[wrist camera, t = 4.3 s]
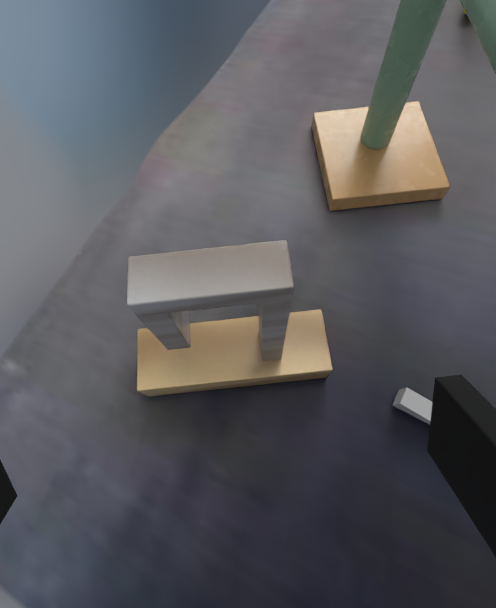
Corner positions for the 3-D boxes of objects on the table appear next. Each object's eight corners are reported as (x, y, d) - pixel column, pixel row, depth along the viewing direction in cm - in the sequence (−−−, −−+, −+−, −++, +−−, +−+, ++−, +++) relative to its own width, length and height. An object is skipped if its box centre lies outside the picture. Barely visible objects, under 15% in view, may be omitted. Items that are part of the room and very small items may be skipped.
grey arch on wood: (326, 377, 25) (385, 304, 13) (147, 396, 25) (39, 341, 13) (316, 321, 27) (361, 208, 15) (147, 339, 27) (49, 241, 15)
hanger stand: (472, 284, 27) (755, 51, 12) (347, 298, 27) (460, 83, 12) (412, 115, 34) (544, -188, 18) (311, 126, 34) (352, -167, 18)
